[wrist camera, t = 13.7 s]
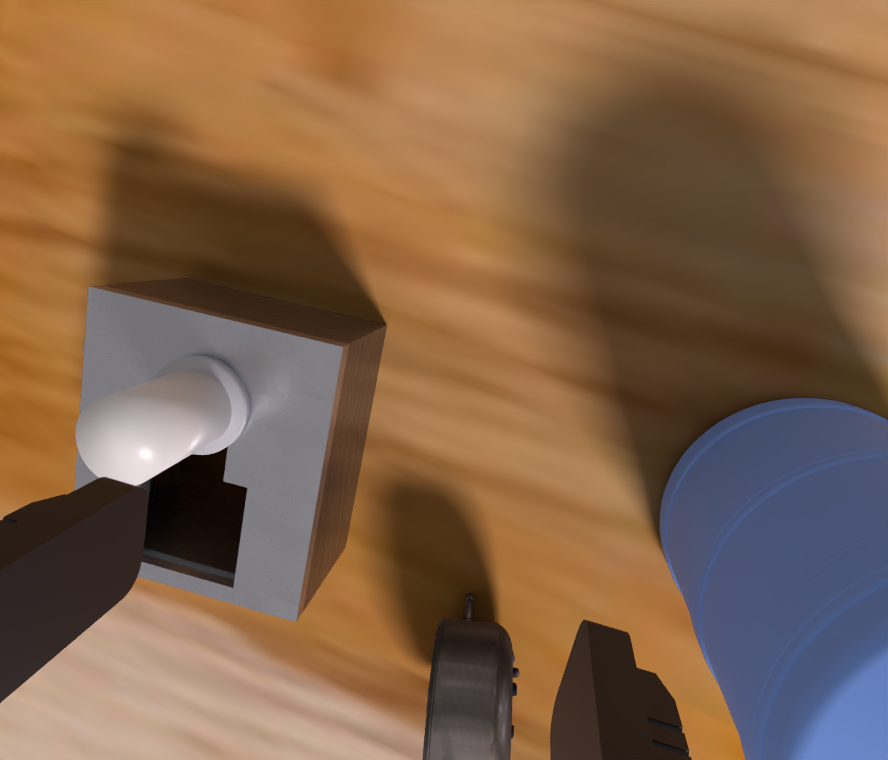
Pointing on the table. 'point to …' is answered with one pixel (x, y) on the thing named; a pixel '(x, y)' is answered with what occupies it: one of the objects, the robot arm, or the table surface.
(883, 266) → the table surface
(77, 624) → the robot arm
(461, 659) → the alarm clock
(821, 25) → the table surface
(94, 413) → the peg
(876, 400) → the table surface
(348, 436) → the keyhole stand
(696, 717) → the table surface
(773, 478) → the water jug
